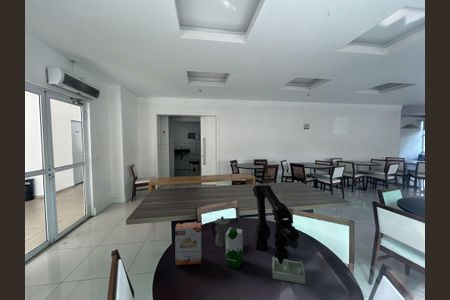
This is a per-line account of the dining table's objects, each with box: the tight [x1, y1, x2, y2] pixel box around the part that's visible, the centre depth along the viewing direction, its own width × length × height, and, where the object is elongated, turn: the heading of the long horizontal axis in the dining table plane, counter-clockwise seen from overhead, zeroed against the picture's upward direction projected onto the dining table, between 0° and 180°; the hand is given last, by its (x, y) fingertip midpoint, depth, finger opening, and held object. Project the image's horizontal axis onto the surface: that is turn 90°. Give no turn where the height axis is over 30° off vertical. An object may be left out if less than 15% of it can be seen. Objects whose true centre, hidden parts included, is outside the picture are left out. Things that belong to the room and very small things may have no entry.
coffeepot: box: [210, 216, 231, 248], centre depth 119 cm, size 15×9×18 cm, turn 129°
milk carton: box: [225, 227, 244, 269], centre depth 101 cm, size 9×9×20 cm
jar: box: [275, 257, 286, 267], centre depth 94 cm, size 5×5×7 cm
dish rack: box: [271, 255, 306, 285], centre depth 93 cm, size 15×11×5 cm
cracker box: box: [174, 222, 202, 266], centre depth 102 cm, size 14×6×21 cm, turn 97°
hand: (280, 260), depth 94 cm, fingers closed on jar, 5 cm apart
